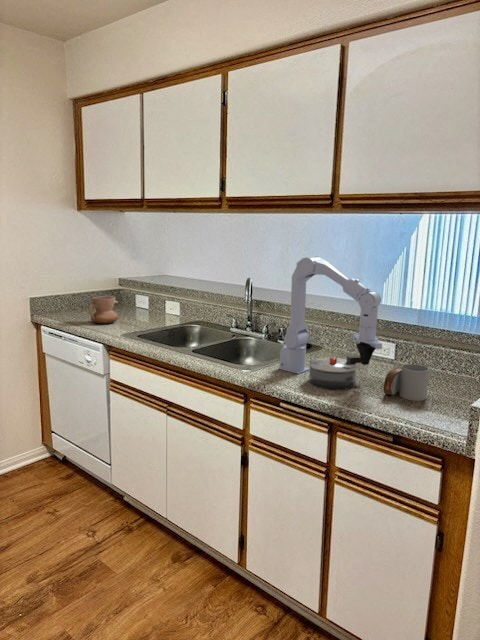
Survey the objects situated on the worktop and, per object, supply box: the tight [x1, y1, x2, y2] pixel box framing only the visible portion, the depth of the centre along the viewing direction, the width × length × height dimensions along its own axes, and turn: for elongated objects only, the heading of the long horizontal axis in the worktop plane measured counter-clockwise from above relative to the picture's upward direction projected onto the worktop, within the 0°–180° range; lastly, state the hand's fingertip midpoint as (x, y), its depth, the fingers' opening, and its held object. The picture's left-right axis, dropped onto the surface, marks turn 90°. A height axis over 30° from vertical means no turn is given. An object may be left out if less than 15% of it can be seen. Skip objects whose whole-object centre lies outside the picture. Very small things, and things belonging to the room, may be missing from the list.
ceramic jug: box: [88, 295, 119, 325], centre depth 265 cm, size 18×14×14 cm
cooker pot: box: [308, 366, 357, 391], centre depth 176 cm, size 16×21×6 cm
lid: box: [309, 355, 362, 373], centre depth 174 cm, size 21×16×3 cm
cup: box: [399, 363, 430, 402], centre depth 161 cm, size 8×8×10 cm
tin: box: [383, 365, 402, 396], centre depth 165 cm, size 15×3×8 cm, turn 141°
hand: (364, 364), depth 171 cm, fingers closed
